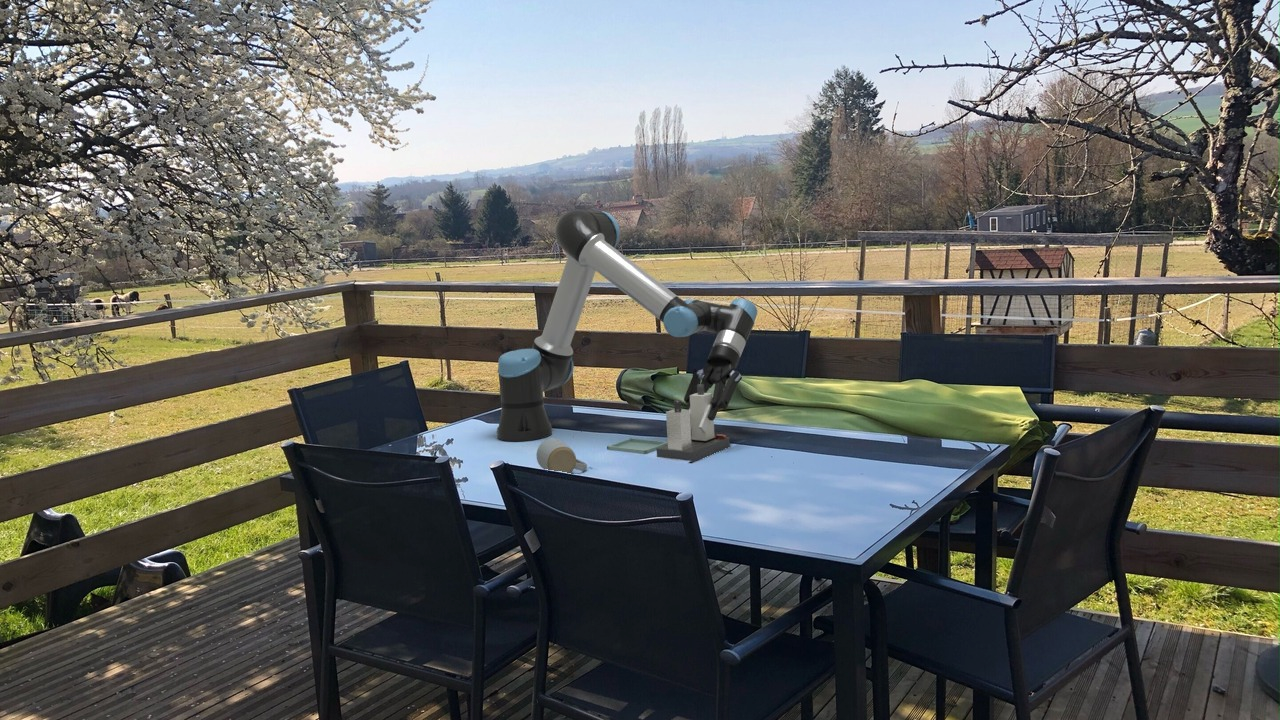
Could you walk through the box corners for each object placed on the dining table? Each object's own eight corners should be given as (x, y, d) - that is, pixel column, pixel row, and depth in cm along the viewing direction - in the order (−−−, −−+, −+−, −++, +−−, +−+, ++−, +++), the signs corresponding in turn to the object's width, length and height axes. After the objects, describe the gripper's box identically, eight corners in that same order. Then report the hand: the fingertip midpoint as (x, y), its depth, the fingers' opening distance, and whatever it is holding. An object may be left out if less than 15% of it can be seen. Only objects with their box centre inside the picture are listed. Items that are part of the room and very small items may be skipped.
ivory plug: (692, 439, 218) (689, 385, 216) (700, 436, 221) (698, 382, 219) (705, 440, 216) (703, 386, 214) (714, 437, 219) (711, 383, 217)
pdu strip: (657, 458, 212) (653, 401, 210) (695, 443, 225) (693, 389, 224) (692, 463, 206) (689, 404, 204) (730, 447, 219) (727, 391, 218)
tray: (607, 451, 222) (606, 446, 222) (631, 443, 230) (630, 437, 230) (645, 456, 215) (645, 450, 215) (669, 447, 223) (669, 442, 223)
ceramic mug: (548, 480, 198) (546, 446, 197) (536, 472, 206) (535, 439, 205) (592, 473, 203) (591, 440, 202) (579, 466, 210) (578, 434, 209)
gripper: (761, 362, 223) (730, 440, 212) (703, 360, 233) (671, 435, 222) (750, 343, 218) (718, 423, 207) (691, 342, 229) (658, 418, 218)
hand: (694, 429), depth 215 cm, fingers closed on ivory plug, 4 cm apart
